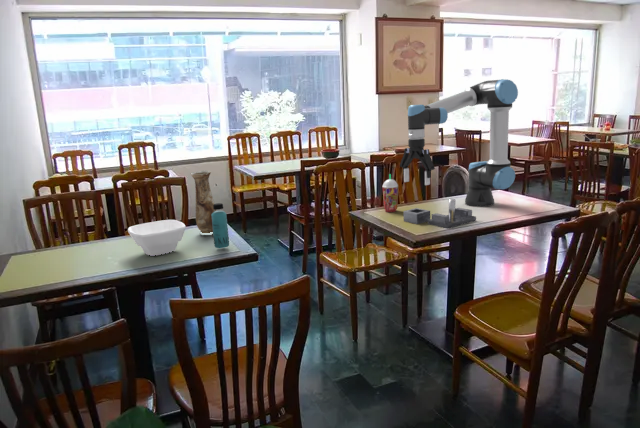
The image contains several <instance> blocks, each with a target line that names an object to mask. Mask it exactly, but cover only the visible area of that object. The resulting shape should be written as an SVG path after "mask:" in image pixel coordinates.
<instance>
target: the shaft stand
mask: <svg viewBox="0 0 640 428" xmlns="http://www.w3.org/2000/svg"><path fill="white" fill-rule="evenodd" d="M476 221H477V216H474V215H473V210H472V209H468V208H462V207H456V199H454V198H449V199H448V214H442V213H438V212H435V213H431V218H430V220H428V222H427V225H430V226H435V227H438V228H439V227H440V228H442V227H443V228H444V229H447V230H448V229H451V227H452V228H455V227H458V226H463V225H467V224H469V223H473V222H476Z"/></svg>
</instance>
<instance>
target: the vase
mask: <svg viewBox="0 0 640 428" xmlns="http://www.w3.org/2000/svg"><path fill="white" fill-rule="evenodd" d="M211 173H212V171H211V170H201V171H196V172H191V173H190V175H191V177H192V178H193V179H194V184H195V222H196V223H195V224H196V227H197V229H198V230H200V232H202V233H210V232H213V226H212V216H211V215H212V213H213V212H215V211H217V210H214V209H213V205H214V204H215V201H214V197H213V194H212V191H211V186H210V181H209V179H210V175H211Z"/></svg>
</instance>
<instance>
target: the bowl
mask: <svg viewBox="0 0 640 428" xmlns="http://www.w3.org/2000/svg"><path fill="white" fill-rule="evenodd" d="M186 227H187V226H186V225H185V223H184V222H182V221H180V220H176V219H165V220H164V219H163V220H157V221H151V222H144V223H139V224H136V225H132V226H129V227H128V228H127V232H128V234H129V235H130V237H131V238H132V240H133V241H134V243H135V244H136V245H137V246H139V247H140V248H141V249H142V251H143V253H144V254H146V255H147V256H149V255H150V257H154V256H155V255H156V256H160V255H161V254H162V255H165V253H166V254H169V252H170V253H173V252H172V251H174V252H176V250H177V247H178V245H179V242H181V241H182V239H183V237H184V234H185V231H186ZM162 255H161V256H162Z"/></svg>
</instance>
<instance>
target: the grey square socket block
mask: <svg viewBox="0 0 640 428" xmlns="http://www.w3.org/2000/svg"><path fill="white" fill-rule="evenodd" d="M430 219H431V210H429V209H424V208H419V207H416V208H410V209H407V210H403V222H406V223H410V224H415V225H419V224H424V223H428V220H430Z"/></svg>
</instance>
